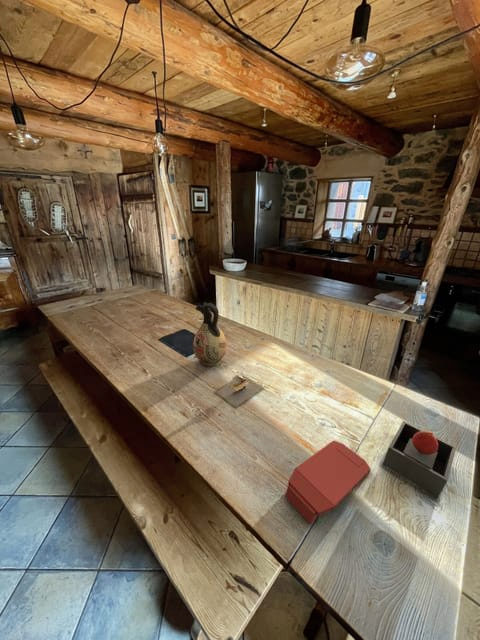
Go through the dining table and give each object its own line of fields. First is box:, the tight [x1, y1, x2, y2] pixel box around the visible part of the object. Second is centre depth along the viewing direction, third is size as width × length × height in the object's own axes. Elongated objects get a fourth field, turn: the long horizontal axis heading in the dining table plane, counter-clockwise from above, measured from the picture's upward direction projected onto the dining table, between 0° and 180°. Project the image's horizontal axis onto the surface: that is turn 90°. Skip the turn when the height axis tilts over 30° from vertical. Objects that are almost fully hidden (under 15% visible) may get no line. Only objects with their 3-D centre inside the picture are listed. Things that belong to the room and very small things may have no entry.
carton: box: [284, 439, 372, 525], centre depth 73 cm, size 12×5×25 cm
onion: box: [412, 430, 438, 455], centre depth 73 cm, size 6×6×8 cm
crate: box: [382, 420, 457, 499], centre depth 76 cm, size 14×14×8 cm
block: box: [403, 438, 438, 470], centre depth 76 cm, size 7×7×5 cm
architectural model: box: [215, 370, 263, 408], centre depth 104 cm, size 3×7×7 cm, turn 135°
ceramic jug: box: [192, 302, 228, 367], centre depth 117 cm, size 17×15×30 cm
